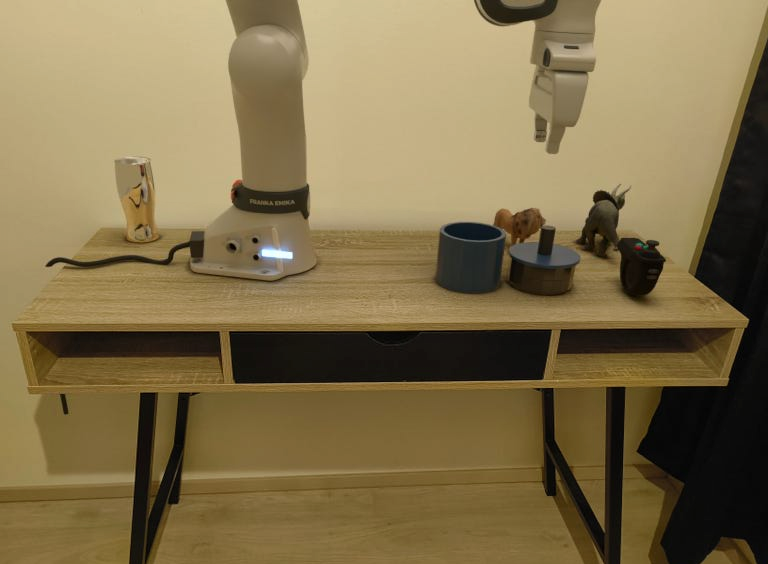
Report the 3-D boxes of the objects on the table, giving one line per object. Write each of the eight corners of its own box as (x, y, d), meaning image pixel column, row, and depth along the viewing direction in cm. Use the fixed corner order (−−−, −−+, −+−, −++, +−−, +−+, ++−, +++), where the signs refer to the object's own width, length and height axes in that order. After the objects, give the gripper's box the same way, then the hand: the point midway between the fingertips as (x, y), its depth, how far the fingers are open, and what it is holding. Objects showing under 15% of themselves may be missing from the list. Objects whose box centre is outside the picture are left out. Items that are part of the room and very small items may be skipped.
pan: (512, 294, 114) (516, 266, 111) (502, 271, 123) (506, 245, 121) (578, 297, 114) (583, 269, 111) (563, 273, 123) (567, 247, 121)
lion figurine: (544, 254, 132) (552, 209, 128) (525, 259, 130) (532, 212, 125) (492, 233, 143) (498, 191, 139) (473, 237, 140) (478, 194, 136)
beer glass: (133, 231, 137) (123, 155, 130) (166, 233, 136) (158, 157, 129) (118, 242, 131) (106, 162, 124) (152, 244, 130) (142, 165, 123)
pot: (438, 292, 114) (442, 240, 109) (433, 268, 123) (437, 220, 119) (503, 294, 114) (510, 243, 109) (494, 271, 123) (500, 222, 119)
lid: (514, 271, 111) (519, 237, 108) (502, 247, 122) (506, 216, 119) (587, 273, 111) (594, 240, 108) (569, 249, 122) (575, 218, 119)
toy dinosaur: (615, 270, 126) (628, 210, 120) (569, 263, 128) (579, 204, 123) (620, 236, 144) (631, 183, 139) (579, 231, 146) (588, 178, 141)
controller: (632, 305, 111) (646, 247, 106) (606, 278, 122) (618, 223, 117) (658, 306, 111) (673, 247, 107) (630, 278, 122) (642, 224, 117)
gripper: (527, 47, 112) (514, 134, 119) (554, 57, 94) (537, 159, 101) (565, 49, 112) (550, 136, 119) (599, 59, 94) (580, 161, 101)
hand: (545, 147), depth 109 cm, fingers open, 8 cm apart
